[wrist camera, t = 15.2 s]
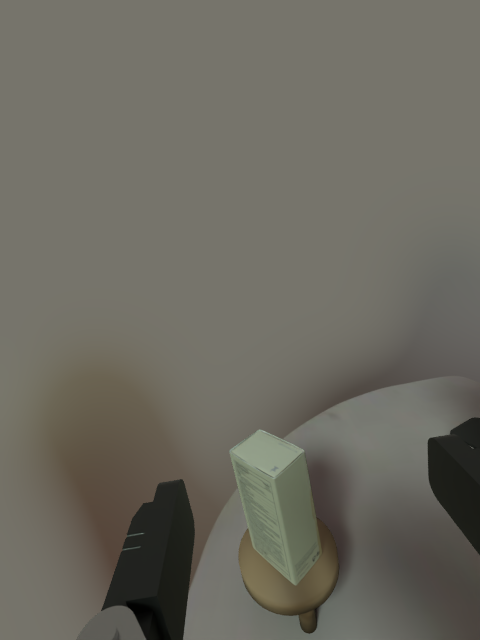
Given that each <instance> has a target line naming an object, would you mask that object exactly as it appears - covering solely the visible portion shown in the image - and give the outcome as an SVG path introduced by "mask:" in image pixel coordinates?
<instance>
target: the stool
mask: <svg viewBox="0 0 480 640" xmlns="http://www.w3.org/2000/svg"><path fill="white" fill-rule="evenodd" d="M316 519H317V525H318V531H319V536H320V542H321V548H322V555H321V556H320V557H319V559H318V560H317V561H316V562H315V564H314V565H313V566H312V567H311V569H310V570H309V571H308V572H307V574H306V575H305V576H304V577H303V578H302V579H301V581H300V582H299V583H298V584H297V585H294V584H293V583H291V582H290V581H289V580H288V579H287V578H286V577H284V576H283V575H282V574H281V573H280V572H279V571H278V570H277V569H275V568H274V567H273V566H272V565H271V564H270V563H269V562H268V561H267V560H266V559H265V558H263V557H262V556H261V555H260V554H259V553H258V552H257V551H256V550H255V549H254V548H253V546H252V541H251V537H250V533H249V529H247V530H246V532H245V534H244V536H243V538H242V540H241V543H240V547H239V565H240V569H241V574H242V578H243V582H244V584H245V587H246V589H247V591H248V592H249V594H250V595H251V597H252V598H253V599H254V600H255V601H256V602H257V603H258V604H259V605H260V606H262V607H263V608H265V609H267V610H268V611H271V612H273V613H276V614H280V615H288V616H293V615H299V620H300V625H301V628H302V630H303V631H304V632H306V633H313V632H314V631H315V630H316V627H317V622H316V616H315V610H314V609H316V608H318V607H319V606H320V605H321V604H323V603H324V602H325V601H326V600H327V599H328V598H329V596H330V595H331V593H332V592H333V590H334V588H335V586H336V583H337V579H338V574H339V563H338V555H337V547H336V543H335V540H334V538H333V535H332V534H331V532H330V530H329V529H328V528H327V526H326V525H325V524H324V523H323V522H322V521H321V520H319V519H318V518H317V517H316Z"/></svg>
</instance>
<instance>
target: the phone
mask: <svg viewBox="0 0 480 640" xmlns="http://www.w3.org/2000/svg"><path fill="white" fill-rule="evenodd" d="M450 434H455V435H457V436H459V437H460V438H461V439H462V440H463V441H464V442H465V443H466V444H468V445H469V446H471V447H473V448H480V418H471V419H469V420H468V421H466V422H464V423H462V424H461V425H459V426H457V427H456V428H454V429H452V430H451V432H450Z"/></svg>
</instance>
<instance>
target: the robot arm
mask: <svg viewBox="0 0 480 640" xmlns="http://www.w3.org/2000/svg"><path fill="white" fill-rule="evenodd" d="M428 475H429V482H430V486H431V488H432V491H433V493H434V495H435V497H436V498H437V500H438V501H439V502H440V504H441V505H442V506H443V508H444V509H445V510H446V511H447V513H448V514H449V515H450V517H451V518H452V519H453V521H454V522H455V523H456V525H457V526H458V527H459V529H460V530H461V531H462V532H463V534H464V535H465V536H466V538H467V539H468V540H469V542H470V543H471V544H472V546H473V547H474V548H475V549H476V551H477V552H478V553H479V555H480V448H475V449H472V448H471V447H470V446H469V445H468V444H466V443H465V442H464V441H463V440H462V439H461V438H460V437H459V436H457V435H455V434H451V435H445V436H439V437H433V438H429V440H428ZM194 535H195V529H194V519H193V514H192V510H191V507H190V503H189V499H188V495H187V492H186V488H185V484H184V481H183V480H182V479H180V480H174V481H169V482H163V483H159V484H158V486H157V490H156V493H155V497H154V501H153V502H149V503H143V505H142V506H141V507H140V509H139V510H138V512H137V513H136V514H135V516H134V517H133V519H132V521H131V525H130V527H129V530H128V533H127V538H126V539H125V542H124V545H123V551H122V552H121V554H120V557H119V560H118V563H117V567H116V569H115V572H114V575H113V578H112V581H111V584H110V587H109V590H108V593H107V596H106V599H105V602H104V605H103V608H102V610H101V612H100V613H98V614H97V615H96V616H95V617H93V618H92V619H91V620H90V621H89V622H88V623H87V624H86V625H85V627H84V628H83V630H82V631H81V632H80V634H79V636H78V637H77V640H183V635H184V626H185V617H186V608H187V599H188V590H189V581H190V573H191V563H192V554H193V546H194Z"/></svg>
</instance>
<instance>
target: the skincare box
mask: <svg viewBox="0 0 480 640" xmlns="http://www.w3.org/2000/svg"><path fill="white" fill-rule="evenodd" d="M230 456H231V460H232V464H233V468H234V471H235V476H236V480H237V485H238V489H239V493H240V497H241V501H242V505H243V509H244V513H245V517H246V521H247V525H248V529H249V533H250V537H251V541H252V546H253V548H254V549H255V550H256V551H257V552H258V553H259V554H260V555H261V556H262V557H263V558H265V559H266V560H267V561H268V562H269V563H270V564H271V565H272V566H273V567H274V568H275V569H277V570H278V571H279V572H280V573H281V574H282V575H283V576H284V577H286V578H287V579H288V580H289V581H290V582H291V583H293V584H294V585H297V584H298V583H299V582H300V581H301V579H302V578H303V577H304V576H305V575H306V574H307V572H308V571H309V570H310V569H311V567H312V566H313V565H314V564H315V562H316V561H317V560H318V559H319V557H320V556H321V555H322V548H321V542H320V536H319V531H318V525H317V519H316V513H315V508H314V502H313V496H312V491H311V485H310V479H309V474H308V468H307V462H306V457H305V451H304V450H302V449H300V448H299V447H297V446H295V445H292V444H291V443H288V442H286V441H284V440H282V439H280V438H278V437H276V436H273V435H271V434H269V433H267V432H265V431H262V430H258V431H257V432H255V433H254V434H252V435H251V436H249V437H248V438H246V439H245V440H244V441H242V442H241V443H239V444H238V445H237V446H235V447H234V448H232V449H231V450H230Z"/></svg>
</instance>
